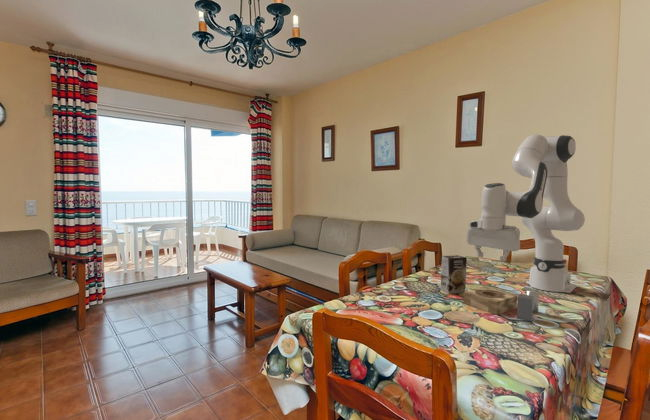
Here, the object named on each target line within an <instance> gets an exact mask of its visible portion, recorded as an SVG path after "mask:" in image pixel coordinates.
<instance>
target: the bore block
mask: <svg viewBox="0 0 650 420" xmlns="http://www.w3.org/2000/svg"><path fill="white" fill-rule="evenodd" d="M462 296H463V300H462V301H463V302H462V303H463V305H466V306H469V307H472V308H474V309H477V310H481V311H483V312H486V313H490V314H492V315H496V316H498V315H500V314H504V313H506V312H510V311H513V310H517V303H518V295H516V294H514V293H509V292H505V291H501V290H498V289H494V288H491V287H486V286H480V287H477V288H474V289H468V290H465V292H463V295H462Z"/></svg>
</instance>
